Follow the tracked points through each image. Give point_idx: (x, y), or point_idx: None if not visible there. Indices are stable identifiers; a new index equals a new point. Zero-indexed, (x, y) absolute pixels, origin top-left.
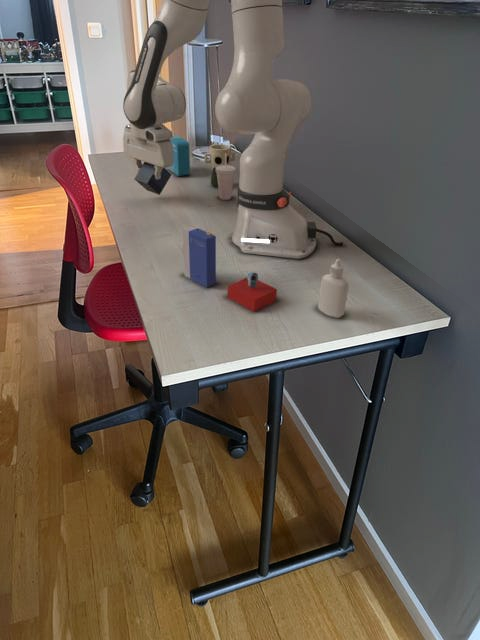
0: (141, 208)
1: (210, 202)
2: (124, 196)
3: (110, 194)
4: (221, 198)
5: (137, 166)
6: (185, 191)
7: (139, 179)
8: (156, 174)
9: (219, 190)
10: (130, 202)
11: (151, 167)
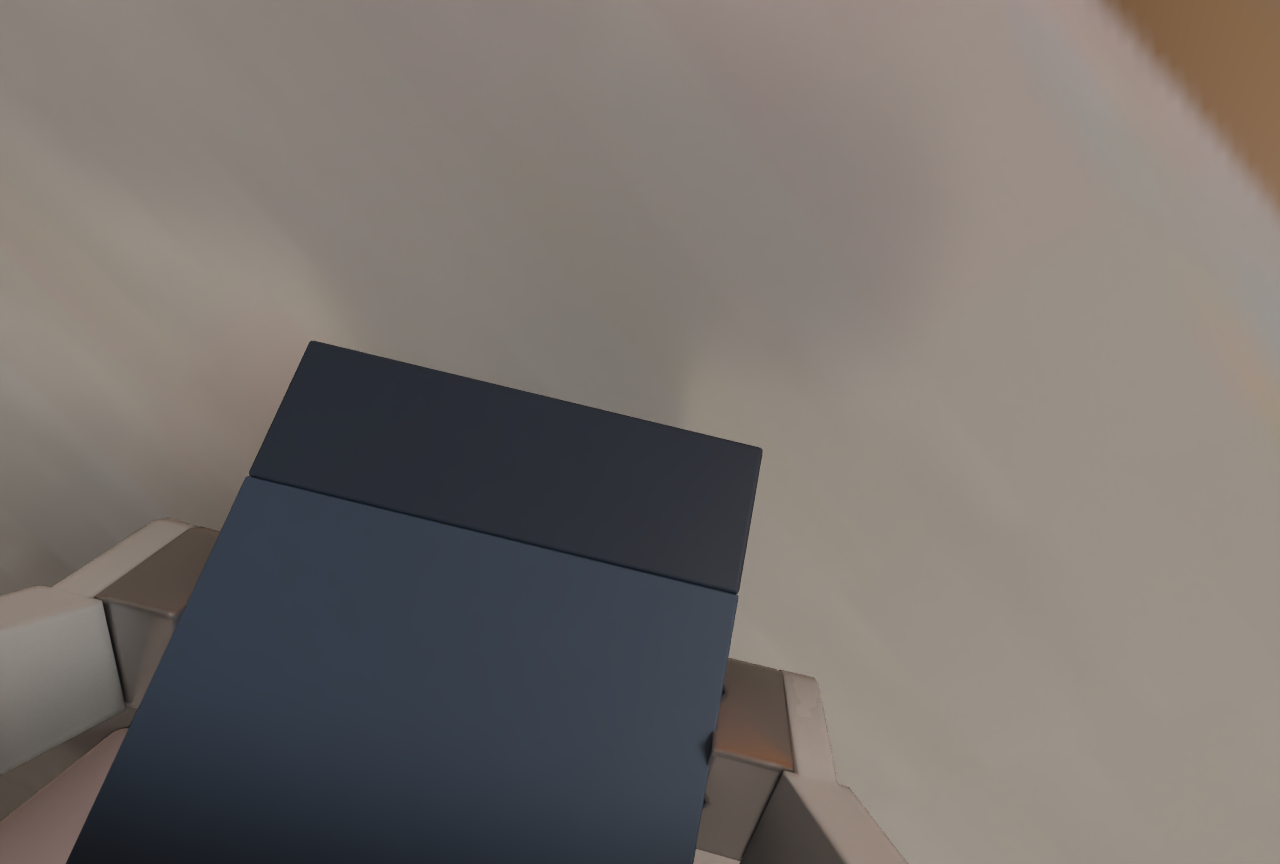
0: (477, 110)
1: None
2: (986, 365)
3: (1242, 324)
4: None
5: (816, 807)
6: None
7: (590, 441)
8: (74, 592)
9: (91, 797)
10: (765, 218)
11: (303, 812)
